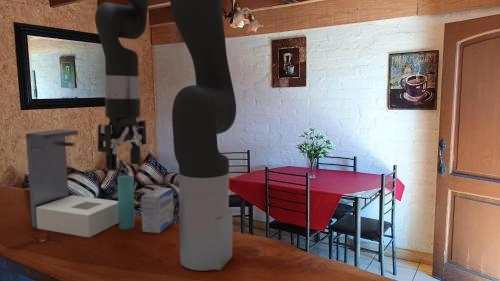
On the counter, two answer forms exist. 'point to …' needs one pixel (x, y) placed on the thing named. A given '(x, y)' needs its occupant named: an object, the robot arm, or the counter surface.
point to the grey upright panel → (47, 167)
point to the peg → (126, 202)
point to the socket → (78, 215)
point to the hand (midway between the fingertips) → (124, 166)
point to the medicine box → (157, 210)
